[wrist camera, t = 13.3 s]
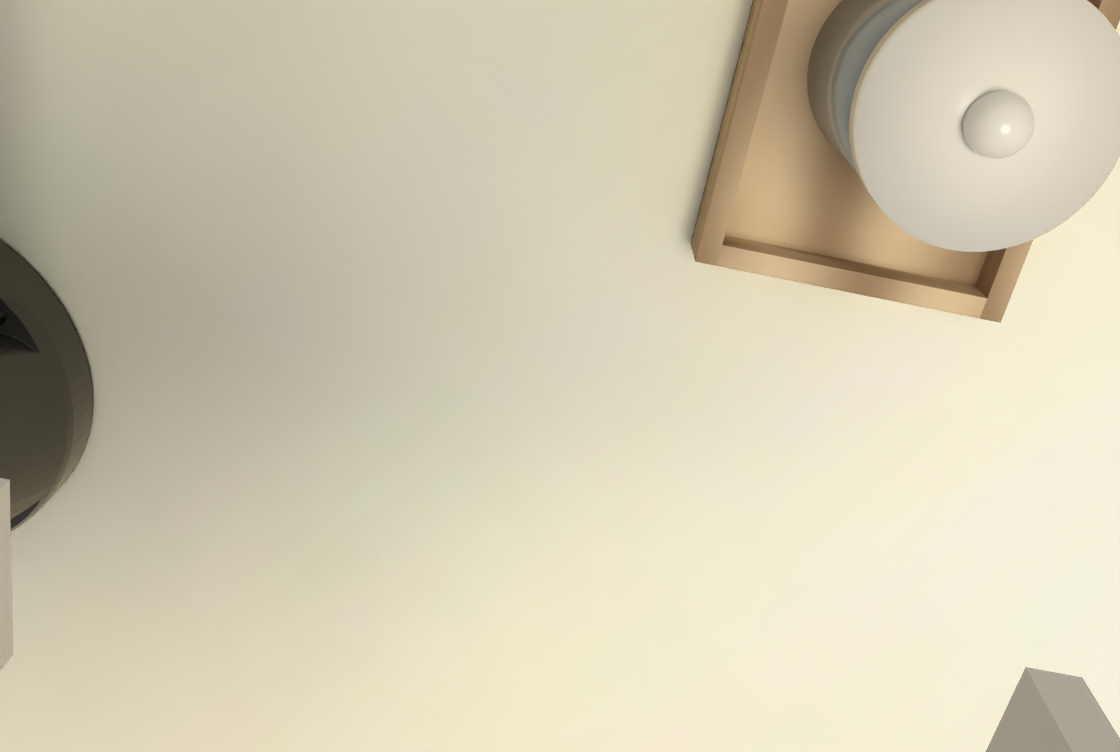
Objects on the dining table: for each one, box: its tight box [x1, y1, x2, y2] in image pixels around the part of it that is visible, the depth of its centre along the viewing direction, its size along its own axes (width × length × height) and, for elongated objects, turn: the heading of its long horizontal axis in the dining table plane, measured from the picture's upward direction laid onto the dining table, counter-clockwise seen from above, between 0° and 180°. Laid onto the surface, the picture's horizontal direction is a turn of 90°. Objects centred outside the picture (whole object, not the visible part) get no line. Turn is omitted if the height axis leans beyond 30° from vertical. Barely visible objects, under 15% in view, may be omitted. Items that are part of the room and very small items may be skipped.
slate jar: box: [807, 0, 1120, 252], centre depth 33 cm, size 7×7×10 cm
